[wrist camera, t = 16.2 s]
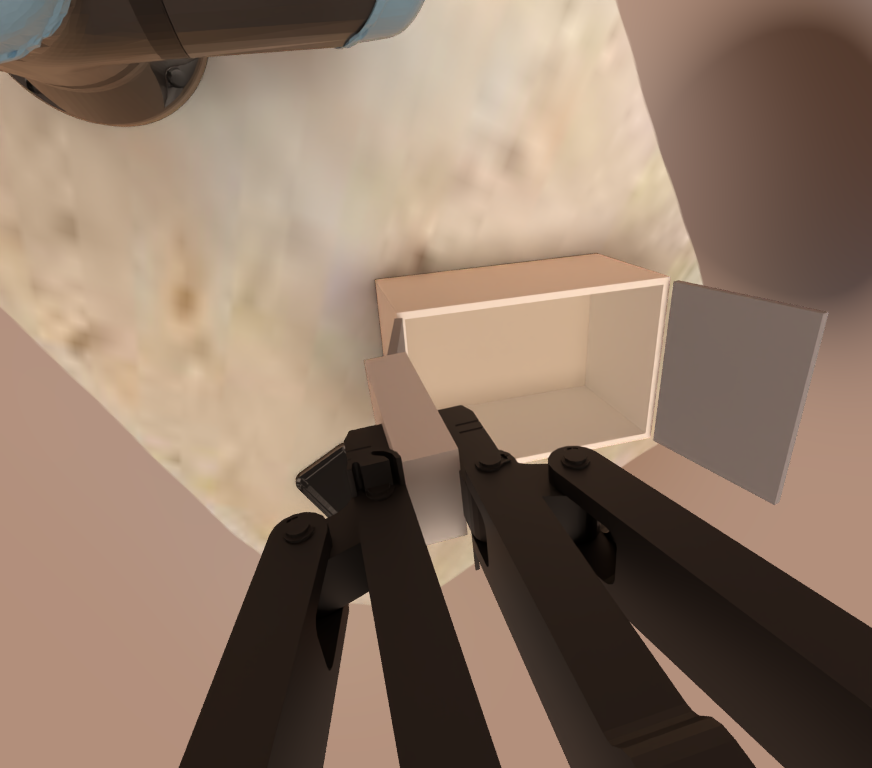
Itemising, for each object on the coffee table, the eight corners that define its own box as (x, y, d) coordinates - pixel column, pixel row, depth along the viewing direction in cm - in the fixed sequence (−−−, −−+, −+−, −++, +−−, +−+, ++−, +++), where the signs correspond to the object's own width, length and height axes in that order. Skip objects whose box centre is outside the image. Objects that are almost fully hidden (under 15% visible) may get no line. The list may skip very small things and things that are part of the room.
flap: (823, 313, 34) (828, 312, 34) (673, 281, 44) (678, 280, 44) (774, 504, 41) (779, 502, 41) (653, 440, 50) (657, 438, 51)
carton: (374, 279, 51) (396, 313, 40) (596, 253, 56) (670, 276, 45) (390, 422, 58) (413, 484, 47) (587, 388, 62) (650, 437, 51)
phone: (349, 441, 56) (423, 523, 63) (348, 436, 57) (421, 517, 64) (290, 483, 57) (370, 560, 63) (290, 477, 58) (369, 554, 64)
